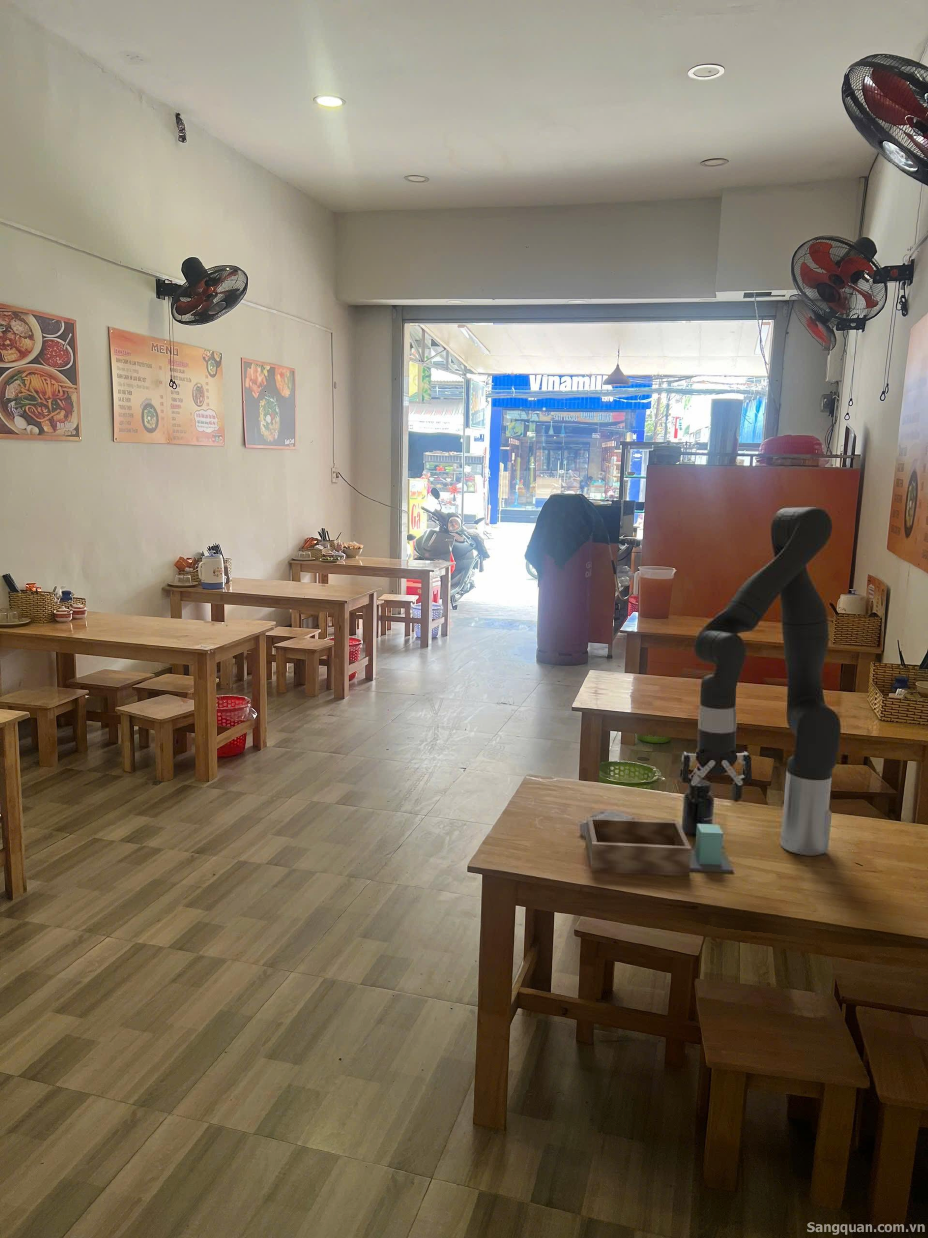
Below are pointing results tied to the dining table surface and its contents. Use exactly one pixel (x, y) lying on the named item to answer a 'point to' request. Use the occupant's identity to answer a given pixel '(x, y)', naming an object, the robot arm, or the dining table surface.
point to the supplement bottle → (698, 808)
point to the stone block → (603, 815)
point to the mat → (710, 865)
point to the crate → (637, 846)
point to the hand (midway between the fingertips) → (714, 801)
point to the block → (709, 844)
